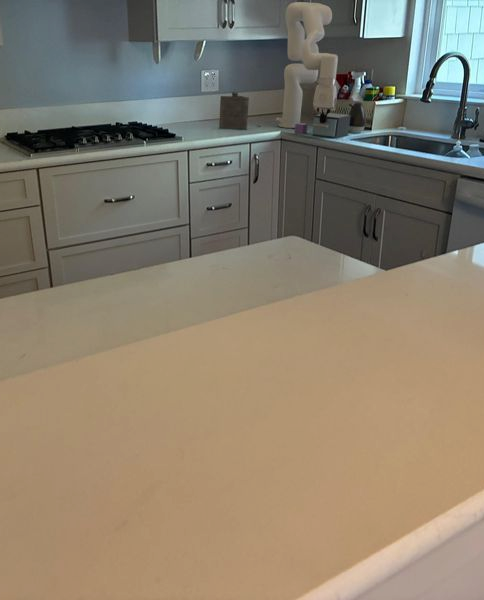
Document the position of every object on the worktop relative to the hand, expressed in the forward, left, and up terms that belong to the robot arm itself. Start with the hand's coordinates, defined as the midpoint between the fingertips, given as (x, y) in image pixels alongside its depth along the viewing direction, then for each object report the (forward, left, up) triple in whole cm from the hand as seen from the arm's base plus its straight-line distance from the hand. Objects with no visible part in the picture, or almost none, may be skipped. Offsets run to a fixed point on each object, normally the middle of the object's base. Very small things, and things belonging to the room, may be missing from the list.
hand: (322, 122), depth 294 cm
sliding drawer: (0, +7, -6) cm, 9 cm away
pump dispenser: (+5, +29, -7) cm, 30 cm away
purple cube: (-14, +6, -7) cm, 17 cm away
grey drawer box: (0, +11, -7) cm, 13 cm away
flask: (-46, -7, -7) cm, 47 cm away
